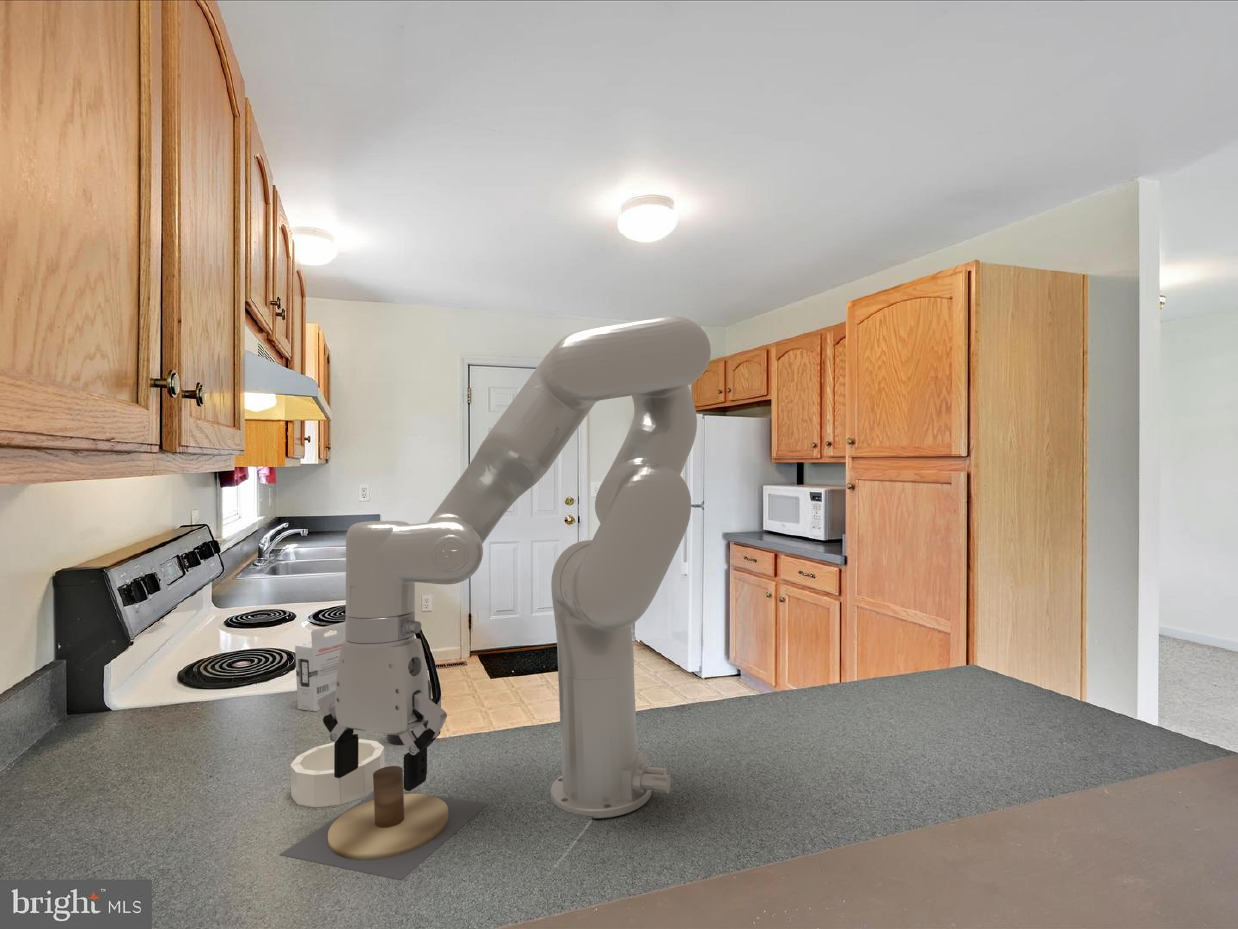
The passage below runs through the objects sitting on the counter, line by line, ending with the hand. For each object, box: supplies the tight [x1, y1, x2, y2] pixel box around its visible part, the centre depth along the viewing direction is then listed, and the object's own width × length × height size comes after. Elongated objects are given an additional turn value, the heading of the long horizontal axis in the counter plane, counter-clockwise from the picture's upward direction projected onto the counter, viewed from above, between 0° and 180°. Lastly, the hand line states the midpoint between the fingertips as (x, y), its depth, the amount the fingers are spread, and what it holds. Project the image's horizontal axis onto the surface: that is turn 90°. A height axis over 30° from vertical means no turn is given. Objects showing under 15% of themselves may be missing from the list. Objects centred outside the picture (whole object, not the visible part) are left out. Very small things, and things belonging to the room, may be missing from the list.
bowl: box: [289, 738, 386, 808], centre depth 88 cm, size 11×11×4 cm
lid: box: [328, 765, 449, 860], centre depth 76 cm, size 13×13×6 cm
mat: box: [278, 790, 489, 881], centre depth 76 cm, size 16×16×1 cm
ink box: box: [294, 621, 345, 712], centre depth 124 cm, size 8×5×15 cm, turn 152°
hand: (380, 779), depth 76 cm, fingers open, 9 cm apart
